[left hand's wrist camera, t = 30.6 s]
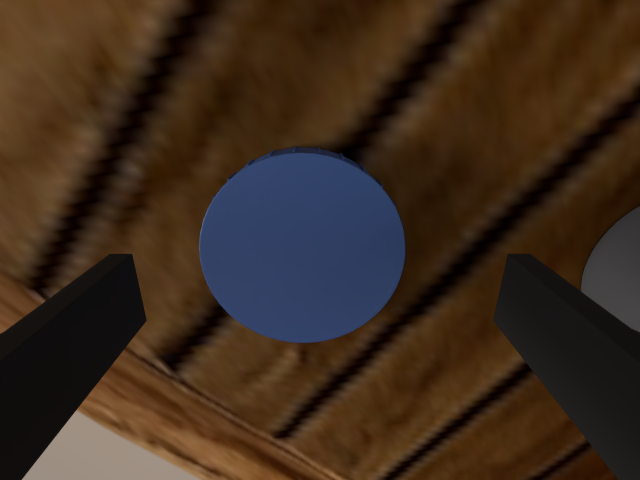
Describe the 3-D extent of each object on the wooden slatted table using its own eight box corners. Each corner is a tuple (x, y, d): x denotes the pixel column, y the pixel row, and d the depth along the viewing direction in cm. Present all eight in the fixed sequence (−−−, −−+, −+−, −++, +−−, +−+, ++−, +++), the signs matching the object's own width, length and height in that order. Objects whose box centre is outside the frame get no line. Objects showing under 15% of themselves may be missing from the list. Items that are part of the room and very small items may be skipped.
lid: (174, 193, 17) (156, 205, 15) (357, 111, 16) (363, 112, 14) (262, 342, 21) (256, 368, 19) (419, 283, 20) (432, 303, 18)
